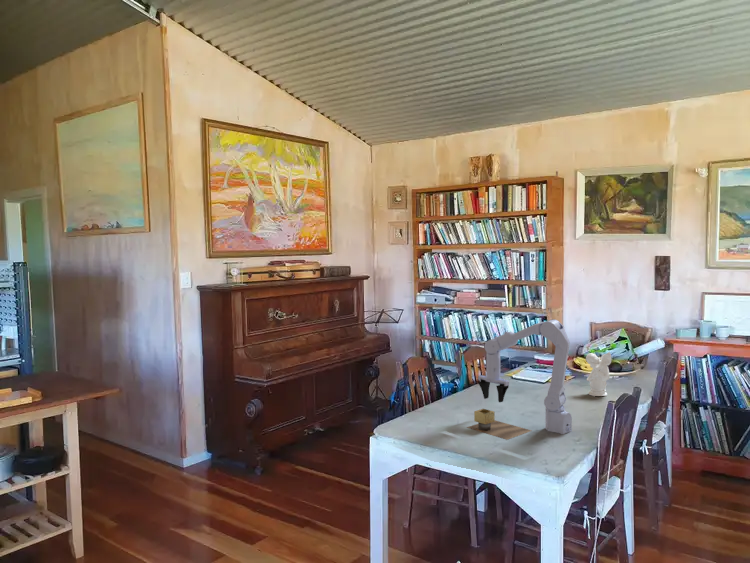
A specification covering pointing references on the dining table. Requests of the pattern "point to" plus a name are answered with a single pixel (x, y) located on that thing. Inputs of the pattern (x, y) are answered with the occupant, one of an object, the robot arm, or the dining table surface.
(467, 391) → the dining table surface
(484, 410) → the brass collar
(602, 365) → the cherub figurine
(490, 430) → the peg board
